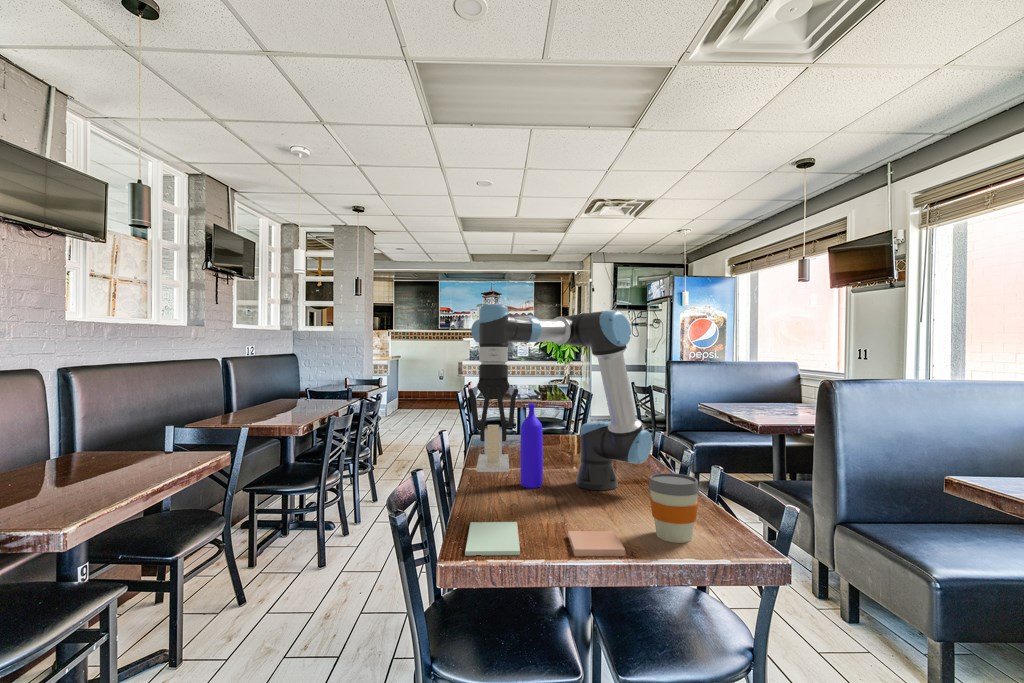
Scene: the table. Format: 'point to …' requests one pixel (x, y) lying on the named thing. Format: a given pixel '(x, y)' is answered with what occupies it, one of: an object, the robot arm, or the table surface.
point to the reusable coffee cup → (674, 506)
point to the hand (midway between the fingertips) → (493, 453)
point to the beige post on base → (493, 454)
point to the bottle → (531, 451)
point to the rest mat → (492, 539)
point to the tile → (595, 543)
